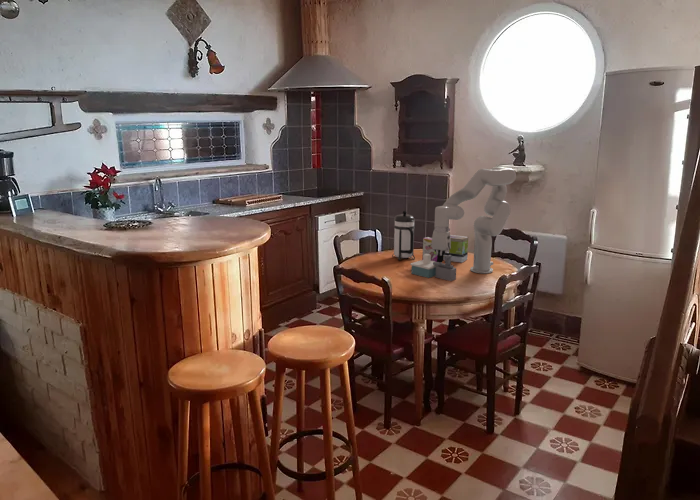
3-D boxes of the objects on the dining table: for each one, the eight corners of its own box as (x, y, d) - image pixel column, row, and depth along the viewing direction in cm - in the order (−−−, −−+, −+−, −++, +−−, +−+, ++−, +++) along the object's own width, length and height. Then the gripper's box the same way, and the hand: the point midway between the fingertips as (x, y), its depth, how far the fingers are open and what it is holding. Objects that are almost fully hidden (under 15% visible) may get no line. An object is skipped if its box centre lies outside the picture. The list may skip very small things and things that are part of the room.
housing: (424, 269, 317) (424, 259, 315) (459, 277, 300) (460, 267, 299) (411, 273, 308) (411, 263, 307) (446, 282, 292) (447, 271, 291)
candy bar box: (421, 264, 327) (422, 238, 323) (426, 263, 330) (427, 236, 327) (437, 268, 320) (438, 240, 316) (442, 266, 323) (443, 239, 319)
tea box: (467, 259, 339) (469, 236, 336) (461, 263, 331) (463, 239, 327) (445, 256, 347) (446, 233, 343) (438, 259, 339) (439, 236, 335)
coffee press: (386, 259, 339) (387, 211, 332) (398, 254, 352) (399, 208, 345) (411, 263, 330) (413, 214, 323) (422, 257, 343) (424, 210, 336)
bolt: (436, 263, 305) (437, 252, 304) (454, 267, 297) (455, 255, 296) (431, 264, 302) (431, 253, 300) (449, 269, 294) (450, 257, 292)
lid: (424, 260, 316) (424, 250, 315) (443, 265, 307) (443, 254, 306) (410, 265, 307) (410, 254, 306) (429, 269, 298) (429, 258, 297)
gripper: (457, 230, 294) (455, 263, 298) (434, 226, 304) (433, 258, 308) (448, 232, 288) (447, 265, 293) (426, 228, 299) (425, 260, 303)
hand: (440, 261), depth 300 cm, fingers closed
